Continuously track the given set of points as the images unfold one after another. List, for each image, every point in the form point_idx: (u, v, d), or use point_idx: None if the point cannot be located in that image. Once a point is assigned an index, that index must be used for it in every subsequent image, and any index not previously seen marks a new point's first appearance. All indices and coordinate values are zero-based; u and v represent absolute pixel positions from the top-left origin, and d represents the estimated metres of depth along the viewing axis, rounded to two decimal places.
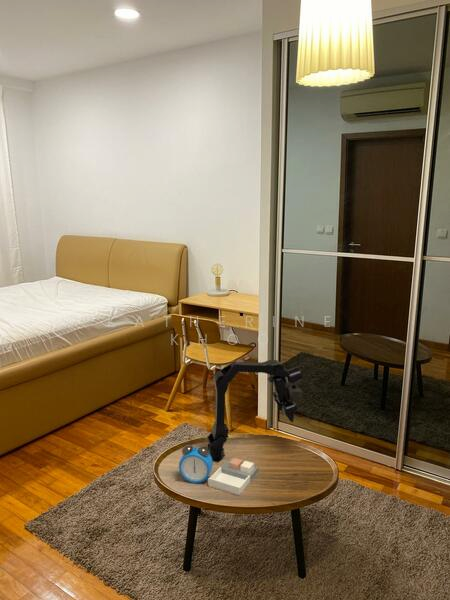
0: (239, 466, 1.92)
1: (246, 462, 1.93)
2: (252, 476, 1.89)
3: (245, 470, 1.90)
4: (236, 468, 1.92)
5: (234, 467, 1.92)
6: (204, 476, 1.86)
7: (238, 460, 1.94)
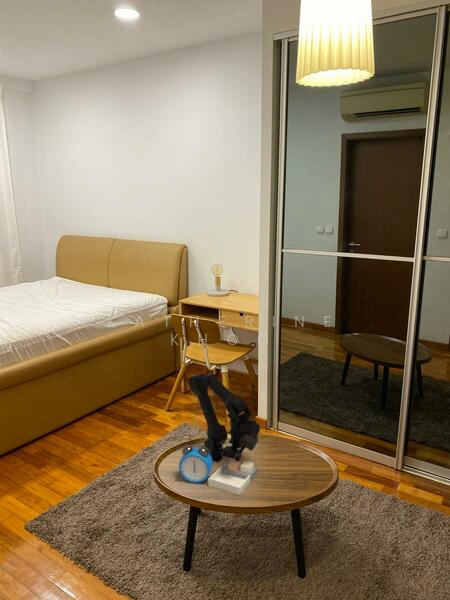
0: (238, 468, 1.91)
1: (246, 462, 1.93)
2: (252, 476, 1.89)
3: (245, 470, 1.90)
4: (235, 470, 1.91)
5: (233, 469, 1.91)
6: (204, 476, 1.86)
7: (237, 462, 1.93)
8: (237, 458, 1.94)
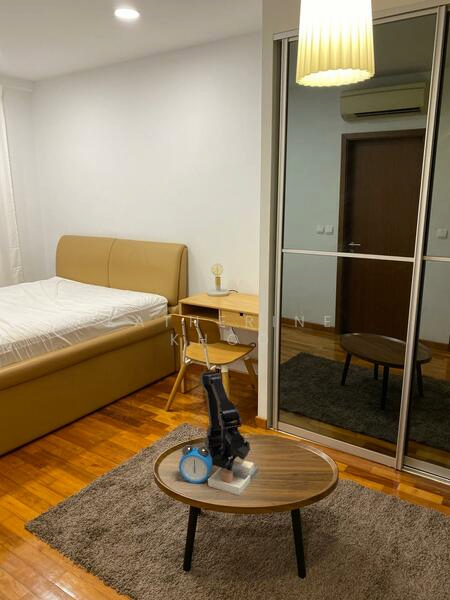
0: (231, 479, 1.87)
1: (246, 462, 1.93)
2: (252, 476, 1.89)
3: (245, 470, 1.90)
4: None
5: None
6: (204, 476, 1.86)
7: (226, 475, 1.86)
8: (228, 467, 1.87)
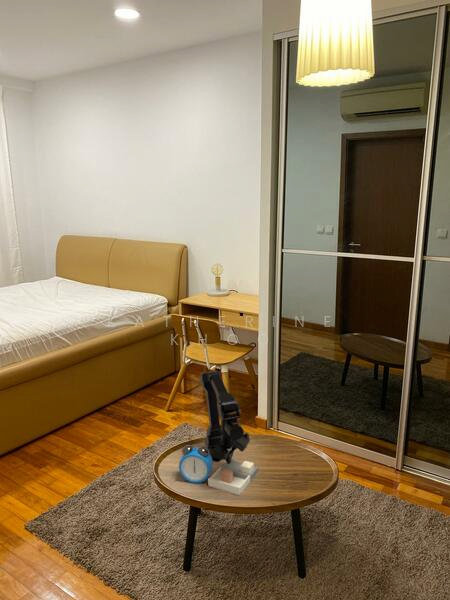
0: (231, 479, 1.87)
1: (246, 462, 1.93)
2: (252, 476, 1.89)
3: (245, 470, 1.90)
4: None
5: None
6: (204, 476, 1.86)
7: (226, 475, 1.86)
8: (228, 459, 1.86)
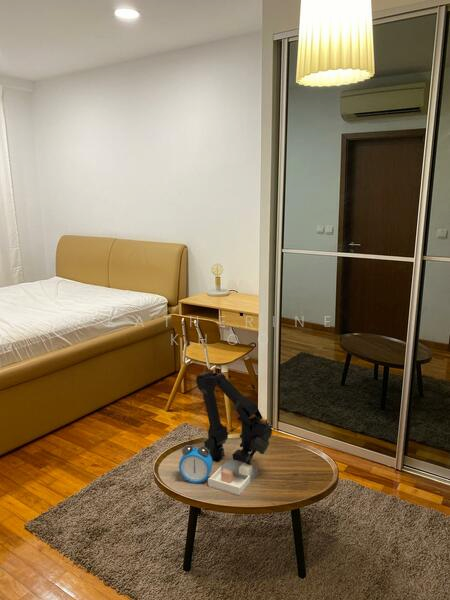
0: (231, 479, 1.87)
1: (244, 464, 1.91)
2: (252, 476, 1.89)
3: (244, 472, 1.88)
4: None
5: None
6: (204, 476, 1.86)
7: (226, 475, 1.86)
8: (248, 462, 1.91)
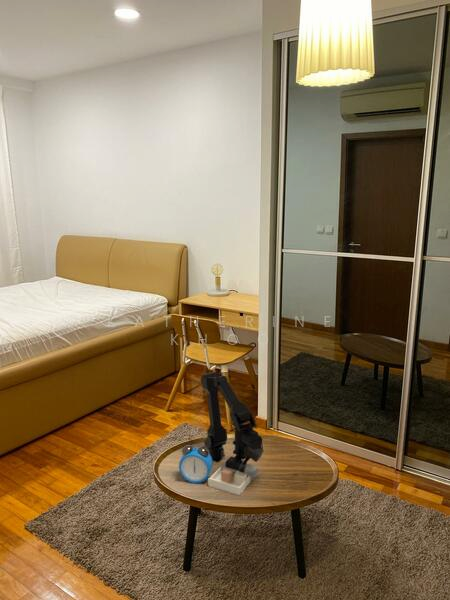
0: (231, 479, 1.87)
1: (237, 476, 1.85)
2: (252, 476, 1.89)
3: None
4: None
5: None
6: (204, 476, 1.86)
7: (226, 475, 1.86)
8: (241, 469, 1.86)
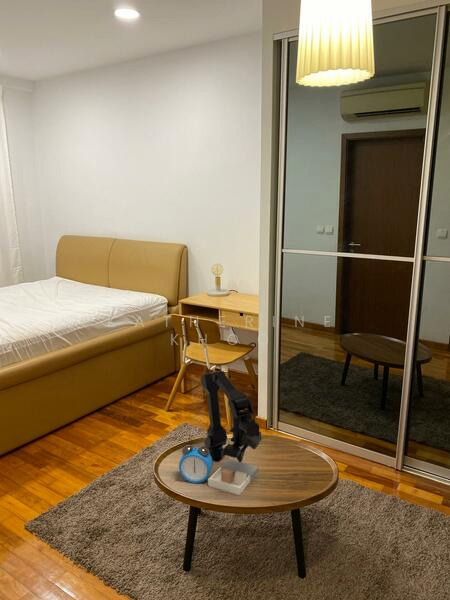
0: (231, 479, 1.87)
1: (237, 476, 1.85)
2: (252, 476, 1.89)
3: None
4: None
5: None
6: (204, 476, 1.86)
7: (226, 475, 1.86)
8: (239, 457, 1.83)
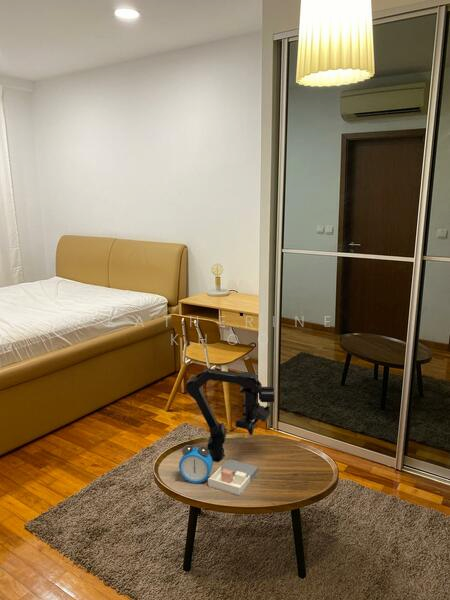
0: (231, 479, 1.87)
1: (237, 476, 1.85)
2: (252, 476, 1.89)
3: None
4: None
5: None
6: (204, 476, 1.86)
7: (226, 475, 1.86)
8: (250, 430, 2.00)
